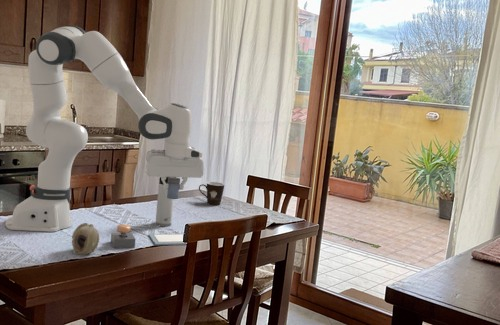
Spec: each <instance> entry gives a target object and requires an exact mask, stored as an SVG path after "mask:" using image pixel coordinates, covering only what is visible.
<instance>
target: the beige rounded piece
mask: <svg viewBox="0 0 500 325" xmlns="http://www.w3.org/2000/svg"><path fill="white" fill-rule="evenodd" d="M71 238H72V240H71V243H72V244H71V245H72V248H73V252H72V253H73V254H75V255H83V256H84V255H87V254H92V253H94V252H95V250H96V249H97V248H98V246H99V243H100V233H99V231H98V229H96V228H95V226H94V224H93V223H91V224H90V223H87V222H84V223H81V224H79V225H78V226H77V227H76V228H75V229H74V231H73V233H72V236H71Z"/></svg>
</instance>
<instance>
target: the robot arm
mask: <svg viewBox="0 0 500 325" xmlns="http://www.w3.org/2000/svg"><path fill="white" fill-rule="evenodd" d="M35 44H36V45H35V49H34V50H33V51H31V52H30V53H29V54H28V64H27V65H28V76H29V84H30V88H31V95H32V102H33V112H32V117H31V119H30V120H29V121H28V123H27V125H26V128H25V134H26V138H27V139H28V140H29V141H30V142H32V143H33V144H35V145H37V146H40V147H43V148H48V153H47V156H46V158H45V160H43V161H41V162H40V163H39V165H38V167H37V169H38V171H37V185H35V184H31V185H30V186H29V190H30V196H29V197H28V198H26V199H24V200H23V201H21V202H20V203H18V204H17V205H16V206H15V207H14V210H13V212H12V216H10V217H8V218H7V219H6V220H5V224H4V225H5V228H7V229H8V230H11V231H29V232H53V233H54V232H57V231H59V230H62V229H63V230H64V229H67V228H69V227H71V226H72V225H73V223H72V219H71V218H72V217H71V212H70V202H71V198H72V189H71V186H70V185H71V174H72V168H73V164H74V161H75V159H76V157H77V155H79V153H80V152H81V151H82V150H84V149H85V148H86V146H87V143H88V139H89V135H88V132H87V129H86V127H84V126H82V125H80V124H78V123H76V122H74V121H70V120H67V119H62V117H61V112H62V108H63V107H64V106H66V104H67V102H68V95H67V89H66V84H65V77H64V72H63V66H64V64H67V63H69V62H73V61H75V60H80V61H81V62H83V63H84V64H85V65H86V67H87V68H88V69H89V71H90V72H91V74H92V75H93V76H94V77H95V79H97V80H98V82H99V83H101V84H102V85H103V86H104V87H105V88H107V89H109V90H111V91H113V92H115V93H117V94H118V95H119V96H121V97H122V99H124V100H125V102H126V103H127V104H128V105H129V107H130V109H132V111H133V112H134V113H135V115H136V116H137V119H138V125H137V126H138V131H139V133H140V135H141V136H142V137H144V138H145V139H147V140H151V141H152V140H153V141H154V140H162V139H164V142H163V144H164V145H163V149H155V148H154V149H150V150H149V151H147V152H146V156H145V159H146V166H145V174H146V175H147V176H148V177H159V178H160V177H161V180H162V182H163V184H164V186H163V188H164V189H168V187H169V184H166V182H165V180H166V177H176V178H181V179H182V181H181V182H180V184H179V191H180V190H184V189H185V184H186V183H187V181H188V178H189V179H190V178H191V179H192V178H193V179H195V178H198V179H201V178H203V176H204V166H205V165H204V160H203V159H202V157H203V152H202V151H200V150H199V149H196V148H194V147H192V146H191V140H190V137H191V133H192V124H193V123H192V121H193V120H192V117H193V116H192V110H190V108H189V107H188V106H185V105H181V104H180V103H179V104H178V103H174V102H172V103H170V104H168V105H166V106H163V107H162V108H157V107H155V106H154V105H152V104H151V103H150V101H149V100H148V99H147V98H146V96H145V95H144V94H143V92H142V91H141V90H140V89H139V87H138V86H137V84H136V82H135V80H134V78H133V76H132V74H131V72H130V68H129V67H128V66H127V63H126V62H125V60H124V58H123V57H122V55H121V54H120V52H118V50H117V48H115V46H114V45H113V44H112V43H111V42H110V41H109V40H108V38H106V37H105V36H104V35H103V34H102V33H100V32H99V31H97V30H90V31H85V30H84V29H83V28H82V27H79V26H77V25H66V26H60V27H57V28H54V29H53V30H51V31H47V32H45V33H43V34H42V35H40V37H39V38H38V40H37V41H36V43H35Z"/></svg>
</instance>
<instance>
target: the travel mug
mask: <svg viewBox="0 0 500 325" xmlns="http://www.w3.org/2000/svg"><path fill="white" fill-rule="evenodd" d="M168 178H169V177H166V180H165V182H166V184H168ZM158 180H159V182H158V188H157V201H156V212H155V213H156V214H155V225H156V224H157V225H156V226H158V225H160V226H159V227H170V226H172V218H173V209H174V200H175V199H169V198H167V190H168V189H164V188H163V186H164V184H163V182H162V180H161V177H159V179H158Z"/></svg>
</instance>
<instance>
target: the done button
mask: <svg viewBox="0 0 500 325" xmlns="http://www.w3.org/2000/svg"><path fill="white" fill-rule="evenodd" d="M131 228H132V226H131V225H129V224H118V225H117V226H116V231H117V233H121V237H126V233H131Z"/></svg>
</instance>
